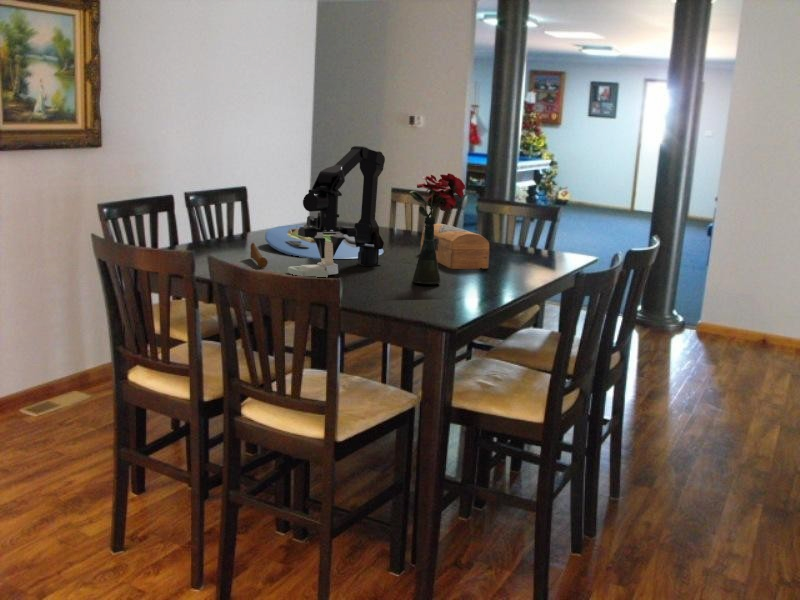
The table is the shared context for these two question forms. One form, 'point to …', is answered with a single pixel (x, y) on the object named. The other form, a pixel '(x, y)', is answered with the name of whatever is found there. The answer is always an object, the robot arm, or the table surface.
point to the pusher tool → (329, 259)
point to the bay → (297, 271)
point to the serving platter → (308, 243)
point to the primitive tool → (258, 256)
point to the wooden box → (459, 248)
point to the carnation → (446, 201)
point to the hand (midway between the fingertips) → (326, 258)
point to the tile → (312, 268)
